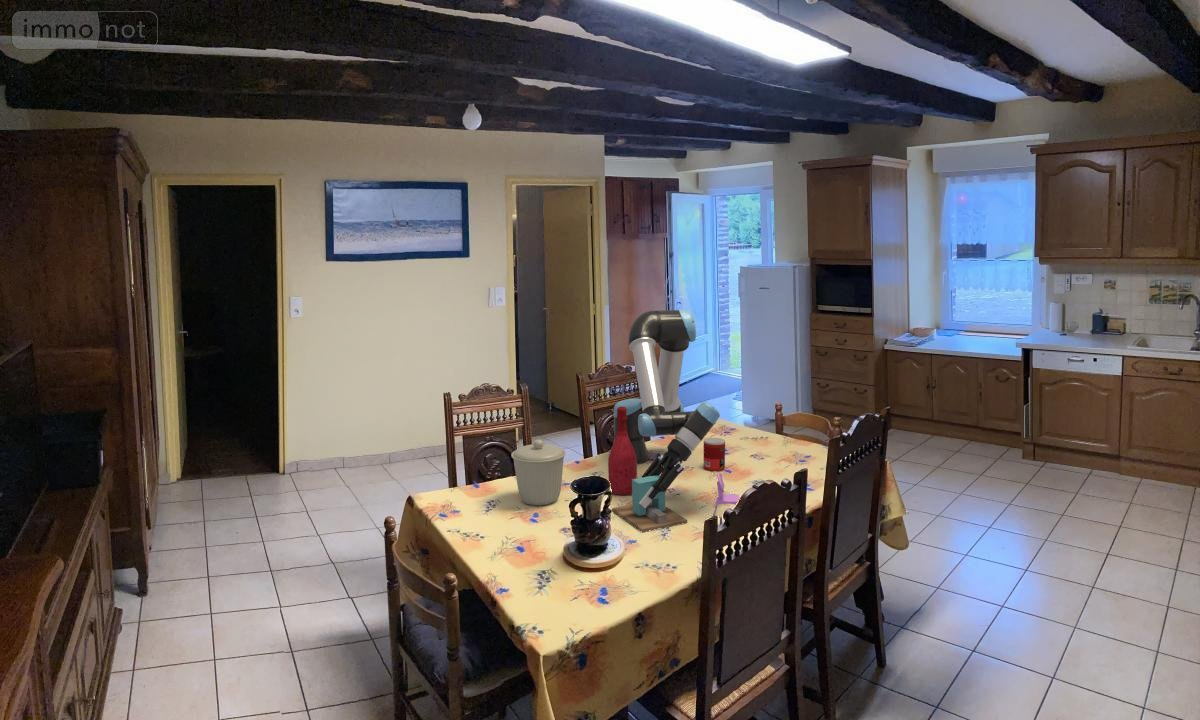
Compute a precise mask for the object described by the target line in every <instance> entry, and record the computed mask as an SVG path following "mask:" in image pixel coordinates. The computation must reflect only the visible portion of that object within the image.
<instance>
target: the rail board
mask: <svg viewBox="0 0 1200 720" xmlns="http://www.w3.org/2000/svg"><path fill="white" fill-rule="evenodd" d="M611 511H612V512H613V513H614V514H615V515H617V516H618V515H619V517H620V518H621V517H622V518H621V519H622V520H624V521H625V520H626V521H625V522H626V523H628V522H629V523H628V524H629V525H631V526H632V525H633V526H632V527H634V526H635V527H636V528H635V527H634V528H635V529H637V530H638V529H639V530H640V531H639V530H638V531H639V532H641V531H642V532H641V533H645V532H644V531H647V532H650V531H649V530H651V531H655V530H654V529H656V530H659V529H658V528H661V529H663V527H665V528H669V527H668V526H670V527H674V525H675V526H678V524H679V525H683V524H682V523H684V524H687V523H688V519H687V518H685V517H684V516H682V515H680V514H679V513H677V512H676V511H674V510H672V509H671V508H669V507H668V506H666V505H665V511H660V510H659V509H657V508H655V507H654V506H652V501H651V502H650V503H649V505H648V506H647V507H646V515H641V516H639V515H637V514H636V513H634V512H633V511H632V503H631V504H626V505H621V506H615V507H612V508H611Z"/></svg>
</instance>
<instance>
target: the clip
mask: <svg viewBox="0 0 1200 720" xmlns="http://www.w3.org/2000/svg"><path fill="white" fill-rule="evenodd" d="M659 477H660V475H654V476H648V477H643V478H641V477H639V478H638V477H637V479H632V494H631V497H632V498H631V500H632V501H631V502H632V503H631V504H632V511H633V512H634V513H636V514H637V515H639V516H641V515H646V509H645V508H644V507H643V506H642V505H641V504H639V502H640V501H641V500H642V498H643V497H644V496H645V495H646V493H647V492H648V491H649V489H650V488H651V487H653V486H652V485H655V484H656V482H657V480H658V479H659ZM653 488H654V487H653ZM652 506H654V507H655V508H657V509H659V510H660V511H665V506H666V491H665V492H662V491H661V492H659V493H658V494H657V495H656V496H655V498H654V499H653V500H652Z"/></svg>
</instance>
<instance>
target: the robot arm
mask: <svg viewBox="0 0 1200 720" xmlns="http://www.w3.org/2000/svg"><path fill="white" fill-rule="evenodd" d="M631 324H632V325H631V326H630V329H629V332H628V337H627V339H628V348H629V351H631V352H632V355H633V361H634V366H635V373H636V379H637V384H638V385H637V386H638V390H639V397H640V398H627V399H626V398H625V399H623V400H620V401H617V402H616V403H615V404H614V407H613V433H614V434H613V438H614V439H613V443H614V441H615V439H616V436H617V431H618V420H617V409H618V407H626V408H627V420H626V429H627V433H628V437H629V439H630V442H631V444H632V446H633V448H634V451H635V454H636V459H637V465H638V464H642V463H646V462H647V461H648V460H649V458H650V457H649V455H650V454H649V451H648V450H647V445H646V442H645V437H654V438H655V437H659V436H661V437H662V436H674V438H673V439H671V441H670V442H669V443H668V445H667V447H666V449H667V451H666V452H665V453H663V454H661V453H660V452H659V453H656V456H655V458H654V460H653V461H652V462H651V464H650V465H649V466H648V468H646V470H645V471H644V473H643V474H642V475H641V476H640V478H643V477H648V476H654V475H659V476H660V477H659V479H658V480H657V482H656V484H655V485H652V486H653V487H654V488H653V487H651V488H650V489H649V491H648V492H647V493H646V495H645V496H644V497H643V498H642V500H641V501H640V502H639V504H641V505H642V506H643V507H644V508H645V509H646V507H647V506H648V505H649V503H650V502H651V501H652V500H653V499H654V498H655V496H656V495H657V494H658V493H659V492H661V491H662V492H665V493H666V491H667V490H668V489H669V487H670V486H671V485H672V484H673V482H674V481H675V480H676V479H677V478H678V476H679V475H680V474H681V473H682V472H683V471H684V470H685V468H684V466H682V463H683V462H686V461H688V459H690V456H691V455H692V452H694V451H695V450H696V448H697V447H698V446H699V444H700V443H701V442H702V440H704V439H705V437H706V436H707V434H708V433H709V432H710V430H711V429H712V428H713V427H714V425H716V423H717V421H718V420H719V419H720V417H721V416H720V415H721V414H720V412H719V410H718V409H717V408H715V406H713V405H712V404H710V403H708V402H705V401H702V402H700V404H699V405H698V406H697V407H696V408H695V410H690V411H685V407H684V405H683V402H682V401H681V400H680V398H679V396H678V395H679V387H680V380H681V373H682V366H683V359H684V352H685V351H687V349H689V347H690V343H693V342H695V341H696V338H697V329H696V322H695V318H694V315H693V313H692V312H691V311H690V310H688V309H680V308H679V309H670V310H669V309H668V310H666V309H665V310H648V311H647V310H646V311H644V312H642V313H641V314H639V315H638V316H637V317H636V318H635V320H634V321H633V322H632V323H631ZM657 346H658V348H660V352H659V359H658V361H657V357H656V351H655V348H656V347H657ZM613 443H612V444H613ZM630 498H631V499H632V496H631V497H630Z"/></svg>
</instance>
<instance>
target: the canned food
mask: <svg viewBox="0 0 1200 720" xmlns="http://www.w3.org/2000/svg"><path fill="white" fill-rule="evenodd" d="M725 468H726V440H725V439H723V438H720V437H708V438H703V469H704V470H705V471H707V470H708V472H713V471H717V472H722V471H724V470H725Z"/></svg>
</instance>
